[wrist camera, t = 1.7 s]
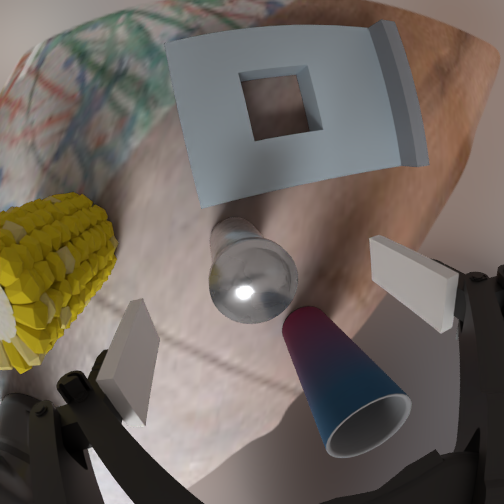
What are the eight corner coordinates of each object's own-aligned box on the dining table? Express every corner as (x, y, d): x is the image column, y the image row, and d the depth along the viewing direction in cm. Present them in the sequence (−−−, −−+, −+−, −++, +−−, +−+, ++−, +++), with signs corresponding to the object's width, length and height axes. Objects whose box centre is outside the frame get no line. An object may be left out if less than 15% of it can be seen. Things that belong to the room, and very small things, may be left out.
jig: (201, 204, 25) (201, 213, 20) (167, 56, 20) (160, 31, 15) (395, 162, 27) (429, 165, 22) (366, 38, 22) (394, 21, 17)
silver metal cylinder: (213, 275, 27) (222, 333, 17) (198, 221, 25) (198, 254, 16) (267, 260, 27) (303, 309, 18) (256, 206, 26) (289, 229, 16)
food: (138, 259, 27) (61, 286, 26) (89, 145, 20) (10, 190, 20) (110, 395, 14) (12, 403, 13) (-21, 216, 8) (-89, 278, 7)
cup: (277, 298, 29) (341, 406, 14) (339, 297, 30) (425, 384, 16) (270, 354, 30) (315, 466, 16) (327, 350, 32) (391, 444, 18)
